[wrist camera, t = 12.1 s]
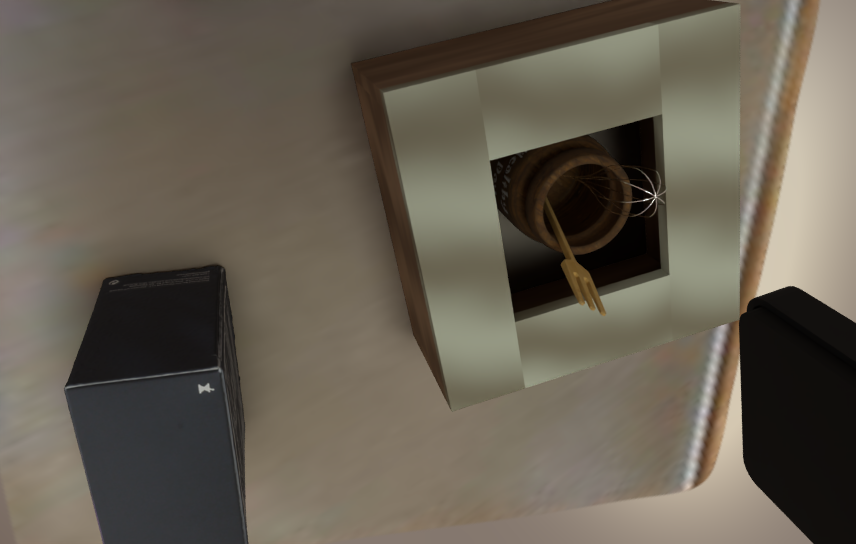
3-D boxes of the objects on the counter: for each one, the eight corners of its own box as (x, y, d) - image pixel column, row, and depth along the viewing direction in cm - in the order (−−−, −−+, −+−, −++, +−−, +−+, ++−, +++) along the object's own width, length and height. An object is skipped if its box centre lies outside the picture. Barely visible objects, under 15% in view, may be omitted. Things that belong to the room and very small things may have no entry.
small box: (93, 275, 38) (52, 385, 28) (225, 261, 39) (228, 361, 30) (129, 445, 42) (105, 589, 33) (247, 427, 43) (256, 559, 34)
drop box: (351, 63, 37) (383, 93, 29) (645, -8, 39) (740, 3, 32) (413, 335, 44) (451, 411, 37) (659, 261, 46) (739, 319, 39)
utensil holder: (600, 143, 42) (727, 213, 31) (540, 237, 43) (642, 335, 33) (517, 92, 39) (625, 150, 29) (457, 194, 41) (538, 284, 30)
